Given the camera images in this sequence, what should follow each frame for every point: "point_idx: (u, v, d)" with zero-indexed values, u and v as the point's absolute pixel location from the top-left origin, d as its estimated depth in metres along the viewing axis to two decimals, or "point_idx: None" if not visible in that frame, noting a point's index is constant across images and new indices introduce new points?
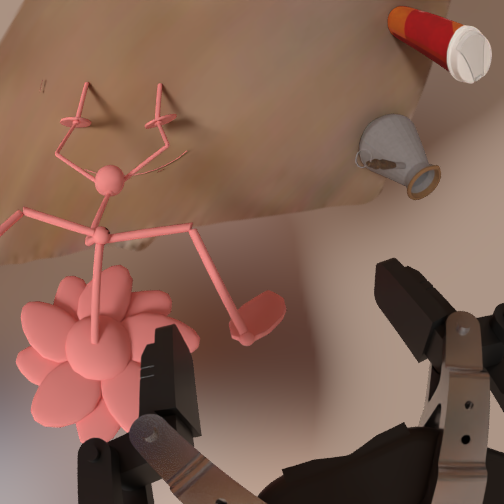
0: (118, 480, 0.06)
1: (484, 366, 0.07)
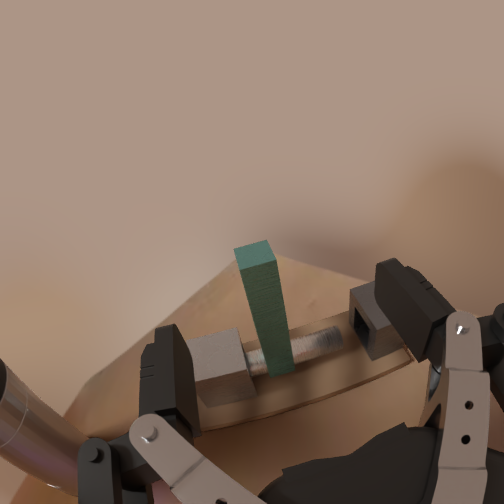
0: (118, 480, 0.06)
1: (484, 365, 0.08)
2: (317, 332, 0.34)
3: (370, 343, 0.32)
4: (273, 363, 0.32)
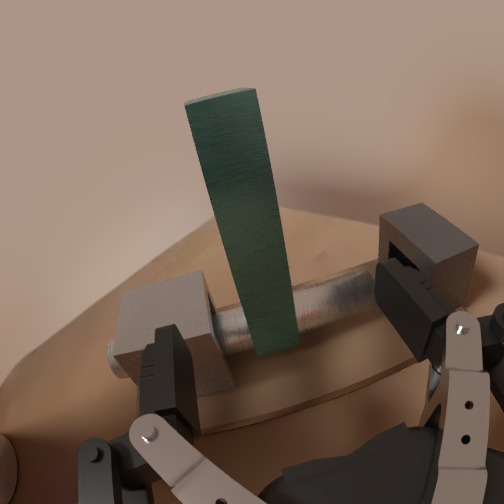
0: (118, 480, 0.06)
1: (484, 365, 0.08)
2: (335, 278, 0.21)
3: None
4: (261, 328, 0.19)
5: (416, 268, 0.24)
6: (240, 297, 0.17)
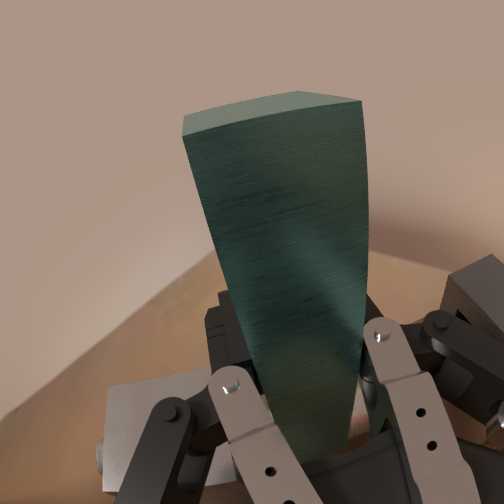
0: (185, 447, 0.07)
1: None
2: None
3: None
4: (302, 449, 0.12)
5: None
6: None
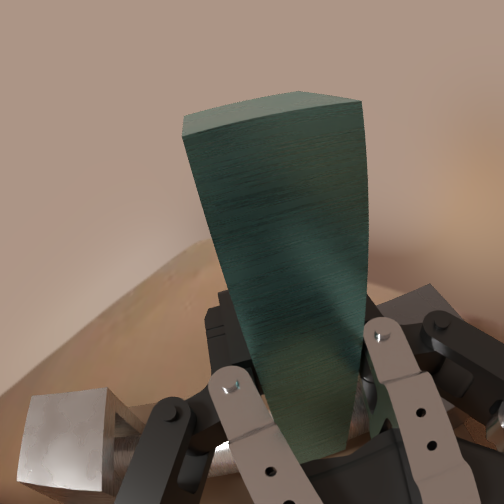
0: (185, 447, 0.07)
1: None
2: None
3: None
4: (302, 449, 0.12)
5: None
6: None
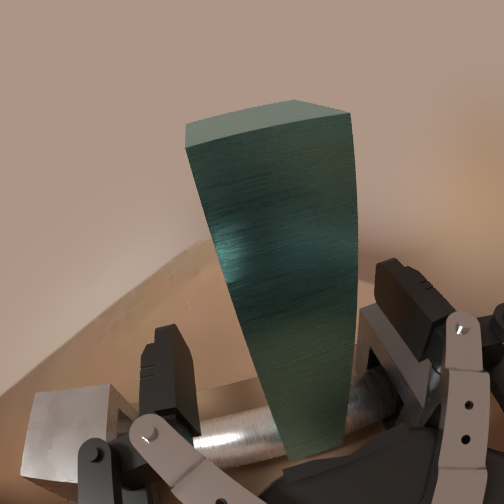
0: (118, 480, 0.06)
1: (484, 365, 0.08)
2: None
3: None
4: (299, 443, 0.12)
5: None
6: (277, 425, 0.10)
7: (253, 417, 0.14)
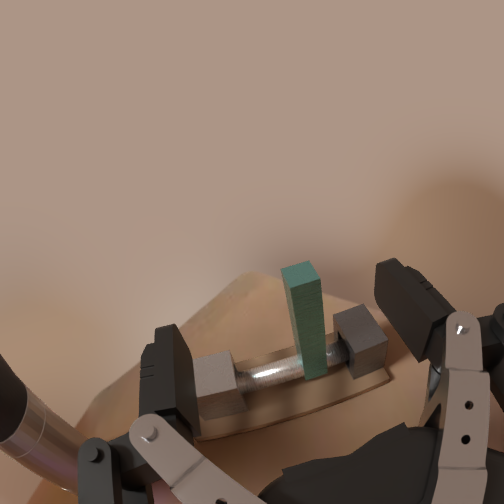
0: (118, 480, 0.06)
1: (484, 365, 0.07)
2: None
3: (351, 364, 0.35)
4: (309, 367, 0.35)
5: None
6: (302, 355, 0.33)
7: (291, 358, 0.37)
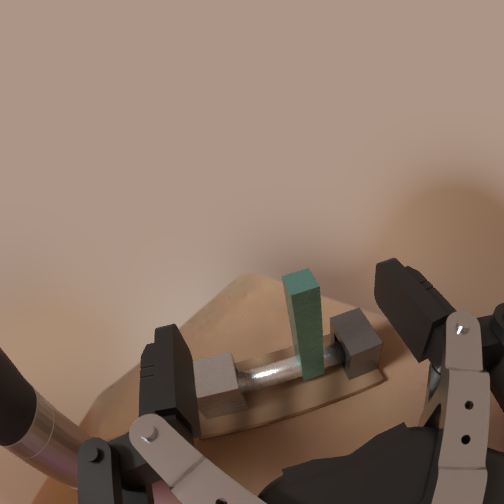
0: (118, 480, 0.06)
1: (484, 365, 0.07)
2: None
3: (346, 365, 0.37)
4: (307, 368, 0.37)
5: None
6: (300, 357, 0.35)
7: (289, 360, 0.38)
